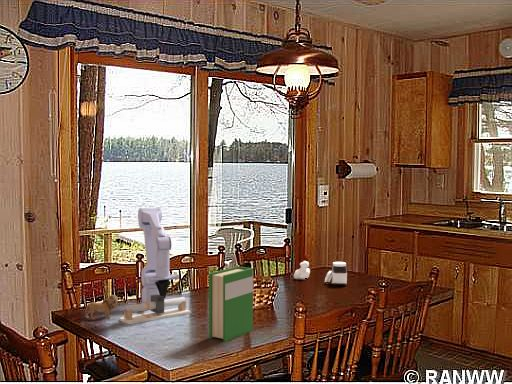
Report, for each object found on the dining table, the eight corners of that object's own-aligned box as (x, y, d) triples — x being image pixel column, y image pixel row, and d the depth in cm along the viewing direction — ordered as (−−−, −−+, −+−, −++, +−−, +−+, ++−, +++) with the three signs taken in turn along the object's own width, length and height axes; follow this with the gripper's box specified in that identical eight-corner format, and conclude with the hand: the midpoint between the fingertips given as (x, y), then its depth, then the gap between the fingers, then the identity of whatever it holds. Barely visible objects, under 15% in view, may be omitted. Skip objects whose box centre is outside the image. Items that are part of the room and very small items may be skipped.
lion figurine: (116, 314, 255) (116, 293, 255) (119, 317, 250) (119, 295, 250) (80, 318, 248) (80, 296, 248) (83, 321, 244) (82, 299, 243)
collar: (150, 310, 253) (150, 295, 253) (157, 309, 255) (157, 294, 255) (157, 313, 249) (157, 297, 248) (164, 312, 250) (164, 296, 250)
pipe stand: (119, 320, 246) (119, 304, 245) (181, 309, 264) (181, 294, 263) (128, 324, 240) (128, 308, 239) (190, 313, 257) (190, 298, 257)
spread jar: (347, 286, 313) (348, 264, 313) (325, 286, 313) (326, 264, 313) (344, 282, 325) (345, 260, 325) (323, 282, 325) (323, 260, 325)
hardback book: (225, 341, 218) (225, 275, 217) (208, 338, 222) (209, 273, 221) (252, 330, 233) (253, 268, 231) (237, 327, 237) (237, 266, 235)
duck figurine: (296, 284, 329) (306, 269, 324) (287, 274, 333) (297, 259, 328) (309, 281, 338) (319, 267, 332) (301, 271, 342) (311, 257, 336)
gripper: (151, 269, 245) (151, 302, 246) (182, 265, 254) (182, 297, 254) (143, 266, 250) (143, 299, 251) (174, 263, 259) (174, 294, 260)
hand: (162, 298), depth 253 cm, fingers closed
